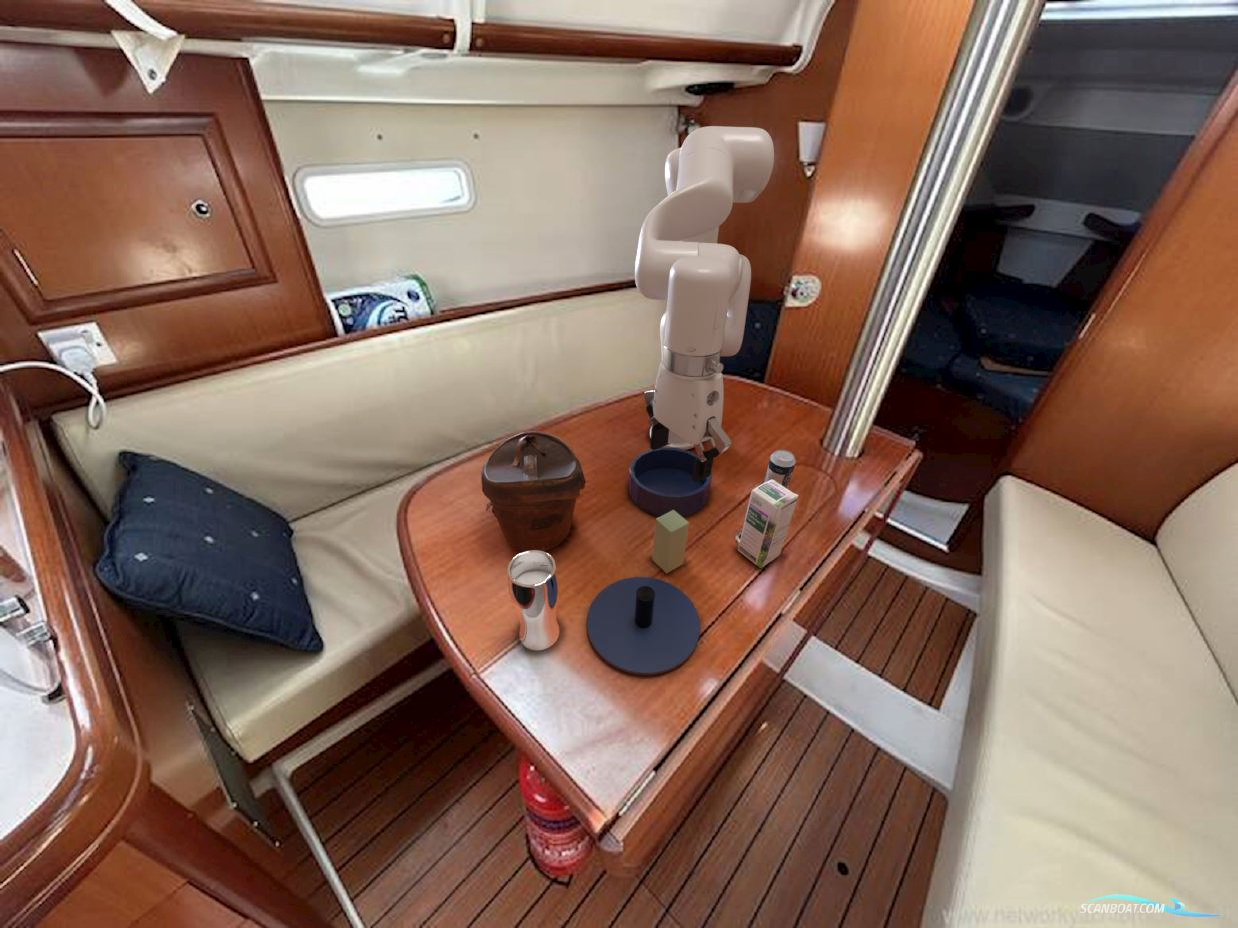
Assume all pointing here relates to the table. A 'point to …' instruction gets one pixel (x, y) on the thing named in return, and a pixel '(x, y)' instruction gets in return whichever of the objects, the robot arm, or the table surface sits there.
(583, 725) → the table surface
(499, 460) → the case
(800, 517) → the table surface
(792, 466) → the pill bottle
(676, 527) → the block
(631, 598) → the lid
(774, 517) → the syrup box
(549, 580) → the beer glass
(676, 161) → the robot arm
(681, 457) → the pot
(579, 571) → the table surface
